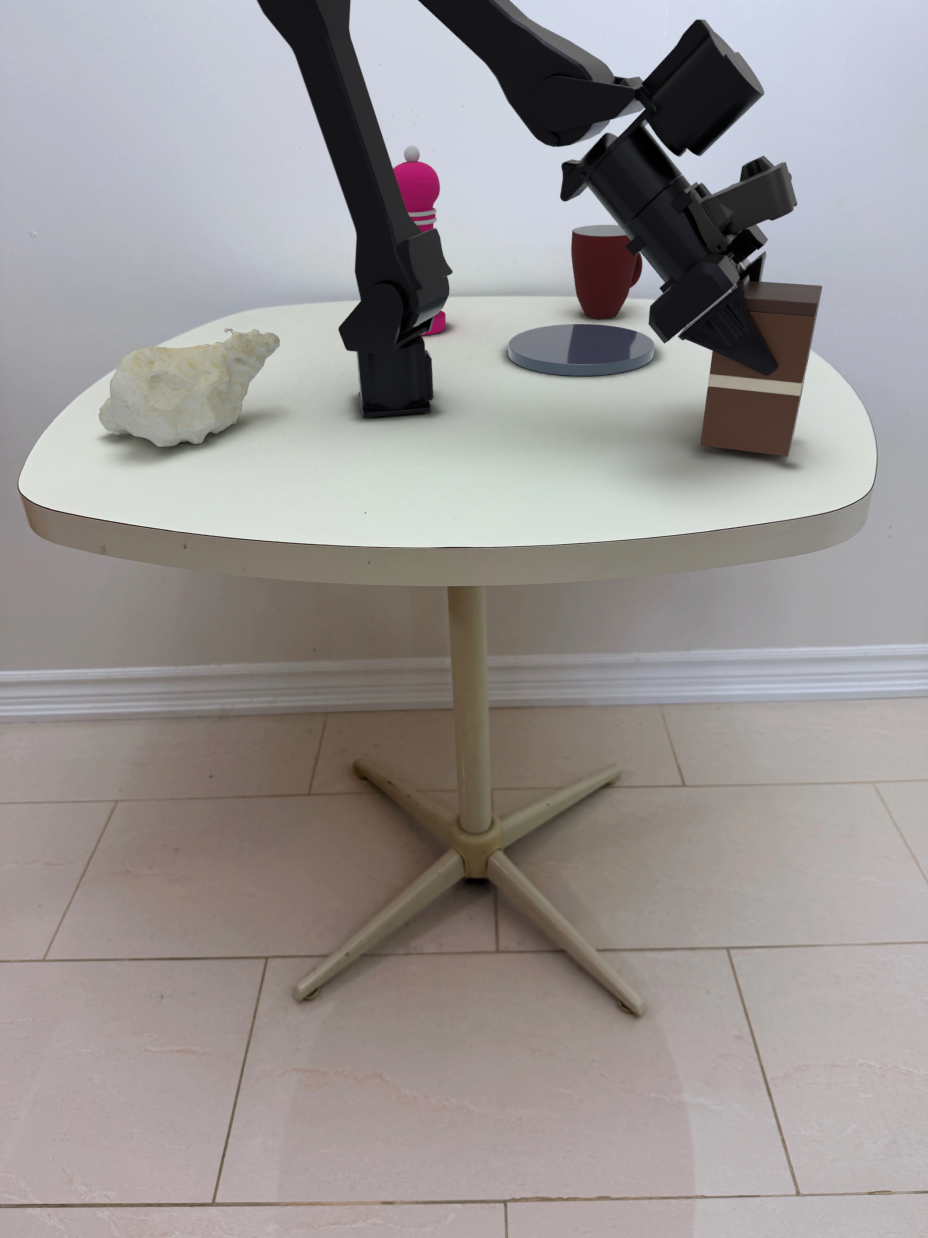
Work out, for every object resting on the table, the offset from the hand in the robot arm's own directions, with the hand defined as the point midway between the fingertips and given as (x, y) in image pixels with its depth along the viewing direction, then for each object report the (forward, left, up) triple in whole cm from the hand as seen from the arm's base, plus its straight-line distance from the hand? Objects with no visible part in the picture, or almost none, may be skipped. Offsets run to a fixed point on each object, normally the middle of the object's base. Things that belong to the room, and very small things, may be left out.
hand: (777, 360), depth 71 cm
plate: (-7, +31, -8) cm, 32 cm away
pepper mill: (-23, +46, -8) cm, 52 cm away
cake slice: (-1, +1, -7) cm, 7 cm away
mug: (+1, +47, -8) cm, 47 cm away
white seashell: (-47, +17, -8) cm, 51 cm away
